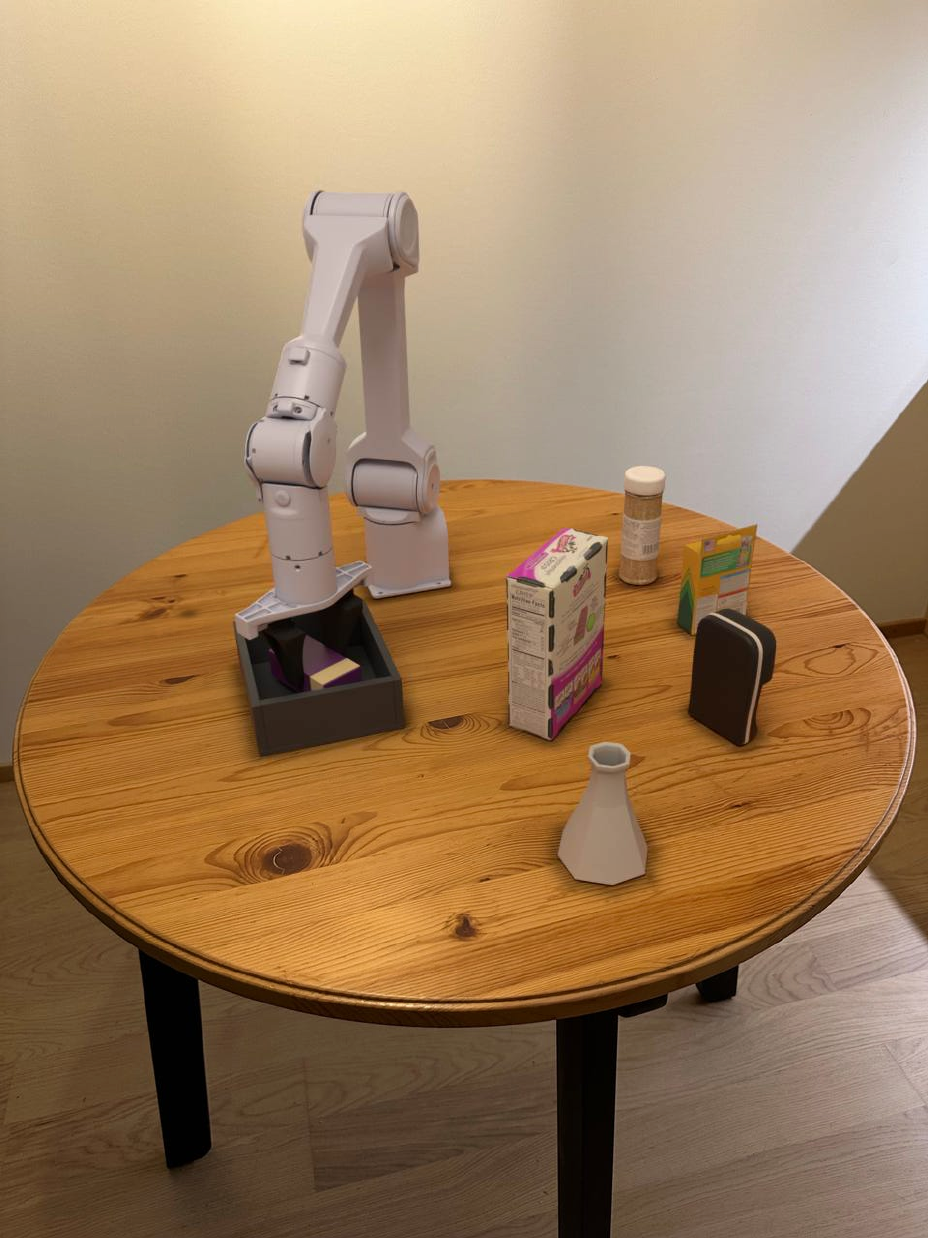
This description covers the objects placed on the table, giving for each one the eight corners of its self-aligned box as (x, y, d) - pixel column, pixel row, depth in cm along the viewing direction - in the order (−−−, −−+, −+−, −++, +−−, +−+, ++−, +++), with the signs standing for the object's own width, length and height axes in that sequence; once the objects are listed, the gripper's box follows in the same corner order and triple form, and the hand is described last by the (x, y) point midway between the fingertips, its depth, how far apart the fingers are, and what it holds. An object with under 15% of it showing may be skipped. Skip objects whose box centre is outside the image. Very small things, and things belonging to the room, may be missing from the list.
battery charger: (769, 734, 92) (787, 628, 86) (740, 750, 90) (757, 642, 84) (711, 699, 97) (725, 597, 91) (684, 713, 95) (696, 609, 89)
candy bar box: (558, 670, 102) (563, 524, 93) (603, 684, 99) (612, 536, 91) (503, 727, 93) (503, 572, 85) (550, 744, 91) (555, 587, 83)
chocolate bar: (307, 657, 102) (304, 632, 100) (363, 692, 96) (361, 666, 95) (271, 675, 99) (267, 649, 98) (326, 712, 94) (323, 685, 92)
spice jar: (648, 566, 121) (656, 462, 114) (662, 584, 117) (672, 477, 110) (612, 571, 120) (619, 466, 113) (625, 589, 116) (633, 481, 109)
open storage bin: (368, 644, 107) (364, 599, 104) (404, 728, 94) (401, 678, 91) (240, 667, 103) (232, 621, 100) (259, 757, 90) (251, 707, 87)
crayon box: (728, 608, 112) (741, 513, 106) (746, 620, 109) (759, 524, 104) (674, 623, 109) (684, 527, 103) (691, 636, 107) (702, 538, 101)
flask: (550, 826, 82) (553, 728, 77) (636, 819, 82) (645, 722, 77) (565, 891, 76) (569, 789, 70) (659, 884, 76) (670, 782, 71)
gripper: (336, 509, 97) (347, 629, 104) (208, 559, 88) (229, 686, 95) (384, 531, 92) (392, 654, 99) (253, 585, 84) (272, 716, 91)
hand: (315, 672), depth 97 cm, fingers closed on chocolate bar, 4 cm apart
